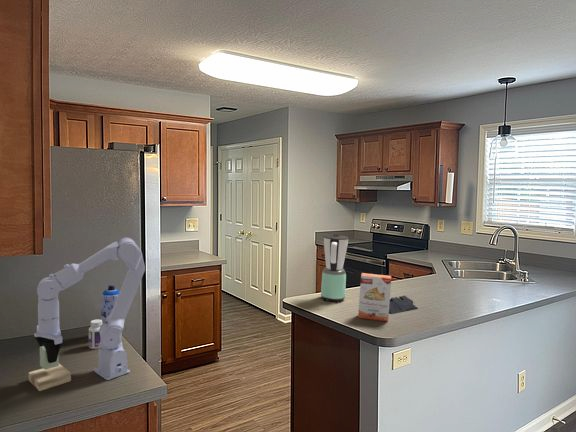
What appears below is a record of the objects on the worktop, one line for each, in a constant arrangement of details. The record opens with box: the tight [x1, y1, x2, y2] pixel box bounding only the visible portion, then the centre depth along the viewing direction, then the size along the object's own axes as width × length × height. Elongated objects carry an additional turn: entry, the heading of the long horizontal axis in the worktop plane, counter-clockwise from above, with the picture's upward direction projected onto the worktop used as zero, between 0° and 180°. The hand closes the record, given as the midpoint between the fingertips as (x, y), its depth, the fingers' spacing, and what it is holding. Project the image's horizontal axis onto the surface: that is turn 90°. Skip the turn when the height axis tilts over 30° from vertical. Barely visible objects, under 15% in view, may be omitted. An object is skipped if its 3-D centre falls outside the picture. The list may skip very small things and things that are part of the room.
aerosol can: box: [100, 285, 120, 324], centre depth 170 cm, size 8×8×20 cm
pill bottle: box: [88, 318, 102, 350], centre depth 159 cm, size 5×5×10 cm
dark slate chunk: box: [389, 295, 419, 315], centre depth 222 cm, size 15×22×5 cm
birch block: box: [28, 363, 72, 392], centre depth 133 cm, size 9×9×3 cm
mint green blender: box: [320, 234, 350, 303], centre depth 229 cm, size 19×13×35 cm
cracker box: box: [357, 272, 392, 322], centre depth 203 cm, size 14×6×21 cm, turn 76°
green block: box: [39, 346, 60, 370], centre depth 133 cm, size 4×4×6 cm
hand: (49, 359), depth 133 cm, fingers closed on green block, 4 cm apart
